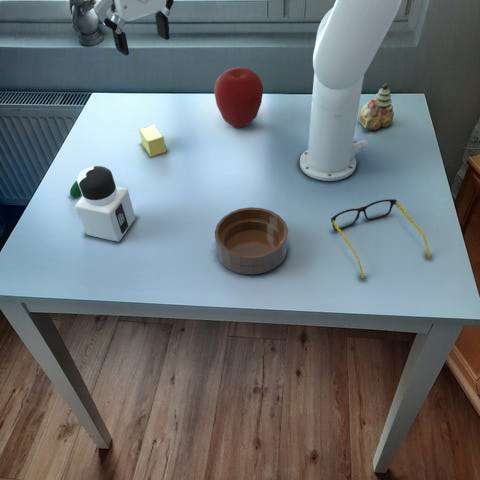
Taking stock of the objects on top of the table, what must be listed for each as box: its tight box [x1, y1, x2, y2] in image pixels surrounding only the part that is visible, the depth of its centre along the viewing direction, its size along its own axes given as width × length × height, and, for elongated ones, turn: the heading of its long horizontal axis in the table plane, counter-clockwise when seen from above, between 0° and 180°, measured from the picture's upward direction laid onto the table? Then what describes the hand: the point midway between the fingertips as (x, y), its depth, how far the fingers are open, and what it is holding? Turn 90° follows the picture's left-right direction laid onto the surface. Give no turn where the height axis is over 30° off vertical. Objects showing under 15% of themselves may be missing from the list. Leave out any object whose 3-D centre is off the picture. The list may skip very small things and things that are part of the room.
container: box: [74, 165, 136, 243], centre depth 92 cm, size 8×8×13 cm
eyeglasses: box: [330, 198, 431, 279], centre depth 90 cm, size 14×14×4 cm
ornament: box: [358, 83, 395, 131], centre depth 112 cm, size 8×6×10 cm
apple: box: [213, 66, 264, 129], centre depth 114 cm, size 12×12×13 cm
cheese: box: [138, 124, 167, 157], centre depth 112 cm, size 4×6×4 cm, turn 27°
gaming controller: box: [69, 170, 83, 198], centre depth 103 cm, size 9×4×6 cm
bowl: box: [214, 206, 289, 275], centre depth 90 cm, size 14×14×5 cm
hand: (144, 45), depth 93 cm, fingers open, 9 cm apart
